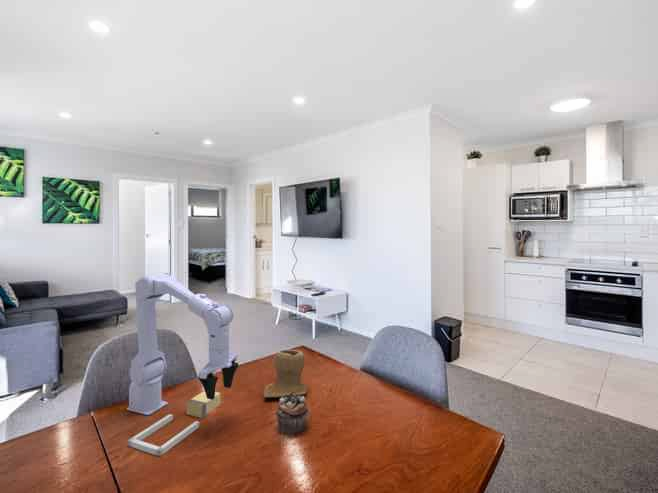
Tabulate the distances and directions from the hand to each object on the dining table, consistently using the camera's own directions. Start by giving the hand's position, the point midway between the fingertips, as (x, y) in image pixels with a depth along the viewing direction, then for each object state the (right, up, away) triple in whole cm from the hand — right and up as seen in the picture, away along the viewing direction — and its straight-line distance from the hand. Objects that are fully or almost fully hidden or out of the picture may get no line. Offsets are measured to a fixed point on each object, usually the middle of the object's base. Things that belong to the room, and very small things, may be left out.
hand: (219, 392), depth 102 cm
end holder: (-13, -10, -4) cm, 17 cm away
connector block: (-8, -10, +10) cm, 16 cm away
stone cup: (+17, -9, +22) cm, 29 cm away
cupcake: (+22, -11, 0) cm, 24 cm away
